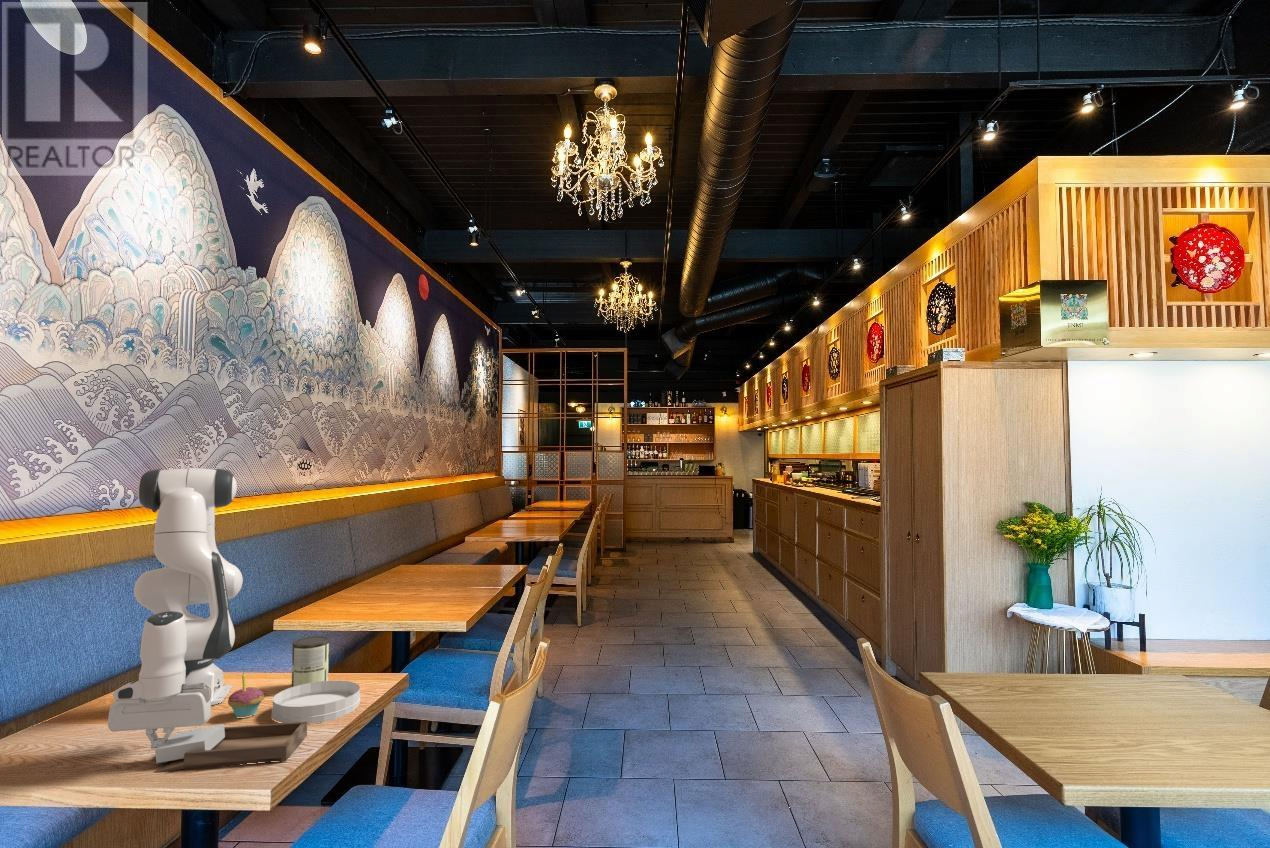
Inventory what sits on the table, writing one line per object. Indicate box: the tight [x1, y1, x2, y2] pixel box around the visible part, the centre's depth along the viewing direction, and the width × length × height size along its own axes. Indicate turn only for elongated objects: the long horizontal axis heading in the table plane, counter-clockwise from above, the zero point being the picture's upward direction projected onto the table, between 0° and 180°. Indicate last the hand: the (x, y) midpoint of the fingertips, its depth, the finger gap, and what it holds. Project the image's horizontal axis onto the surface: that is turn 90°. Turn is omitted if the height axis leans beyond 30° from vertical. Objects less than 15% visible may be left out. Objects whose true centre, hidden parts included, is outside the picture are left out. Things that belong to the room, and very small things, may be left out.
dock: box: [153, 721, 308, 773], centre depth 154 cm, size 15×27×4 cm, turn 100°
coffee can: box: [291, 635, 330, 687], centre depth 202 cm, size 10×10×14 cm
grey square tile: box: [154, 723, 225, 767], centre depth 153 cm, size 10×10×4 cm
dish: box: [271, 680, 361, 724], centre depth 182 cm, size 22×22×5 cm
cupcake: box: [227, 671, 265, 718], centre depth 179 cm, size 9×8×12 cm
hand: (159, 747), depth 151 cm, fingers closed
